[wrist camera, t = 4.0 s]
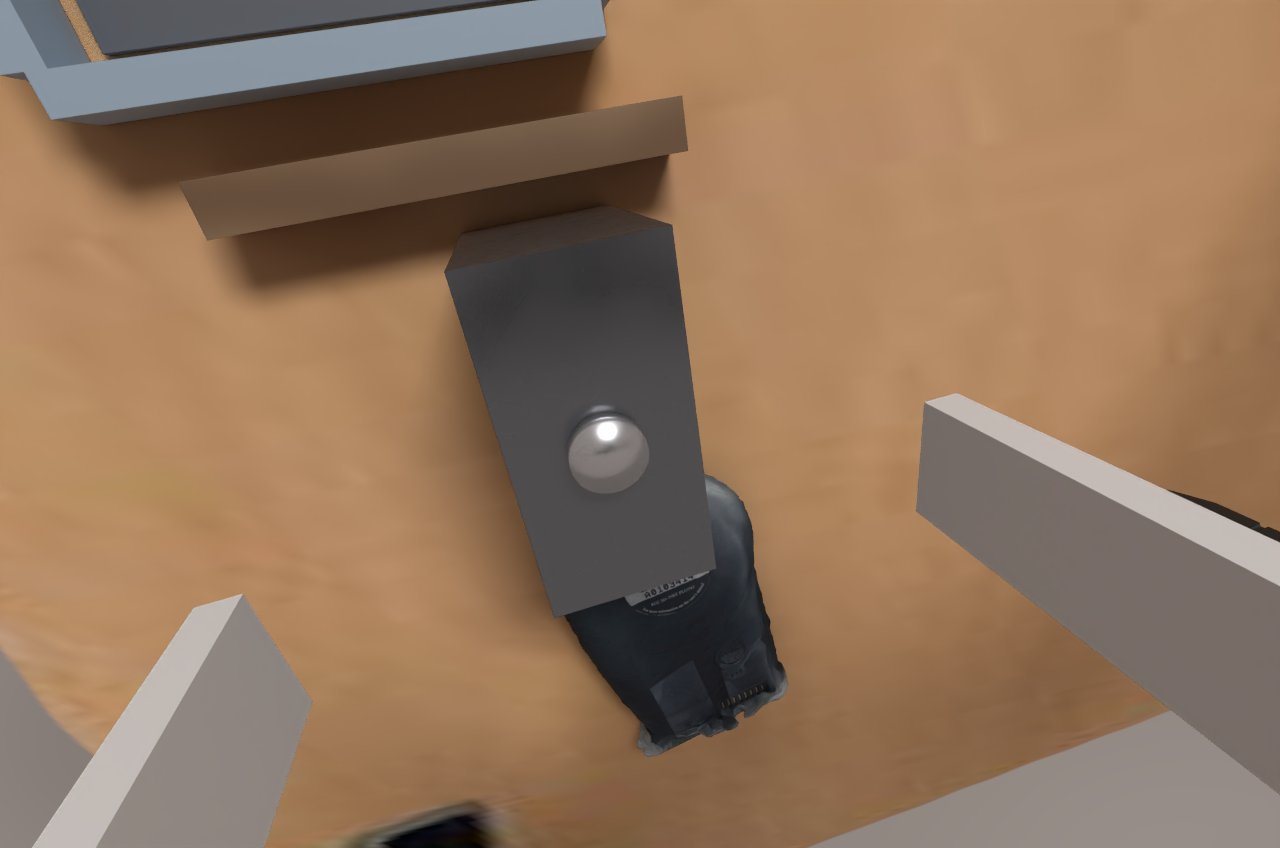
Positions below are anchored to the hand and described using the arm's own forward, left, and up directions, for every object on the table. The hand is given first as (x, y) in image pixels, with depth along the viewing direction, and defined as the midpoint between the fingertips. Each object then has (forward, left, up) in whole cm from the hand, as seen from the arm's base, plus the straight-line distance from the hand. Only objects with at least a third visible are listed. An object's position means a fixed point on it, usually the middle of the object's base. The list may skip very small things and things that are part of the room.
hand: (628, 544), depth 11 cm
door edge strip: (-7, -2, -12) cm, 14 cm away
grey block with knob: (0, 0, -12) cm, 12 cm away
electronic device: (+13, +2, -12) cm, 18 cm away
